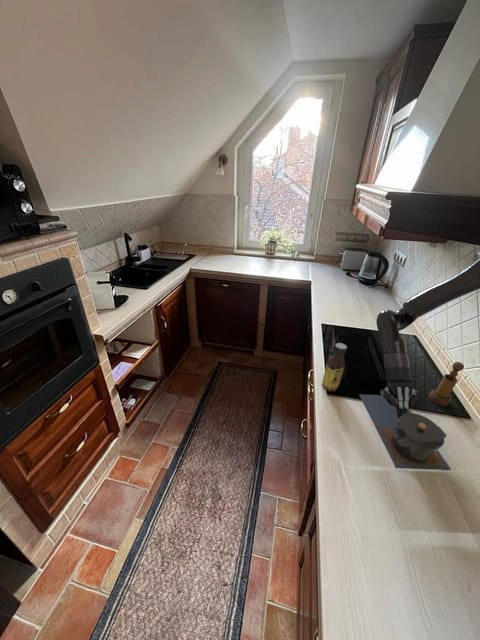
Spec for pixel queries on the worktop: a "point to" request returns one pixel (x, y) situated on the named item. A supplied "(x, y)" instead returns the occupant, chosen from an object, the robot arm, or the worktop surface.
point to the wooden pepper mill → (446, 386)
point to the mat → (384, 422)
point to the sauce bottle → (334, 368)
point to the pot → (417, 437)
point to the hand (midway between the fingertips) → (403, 420)
